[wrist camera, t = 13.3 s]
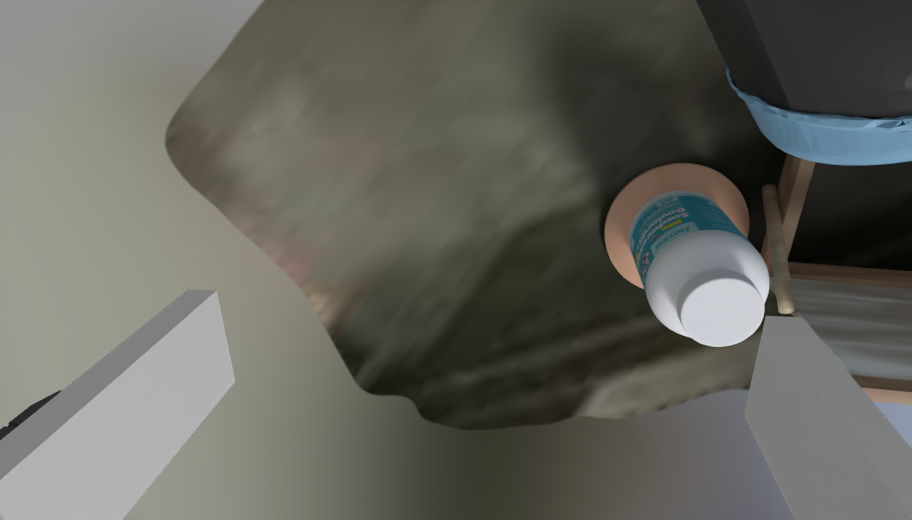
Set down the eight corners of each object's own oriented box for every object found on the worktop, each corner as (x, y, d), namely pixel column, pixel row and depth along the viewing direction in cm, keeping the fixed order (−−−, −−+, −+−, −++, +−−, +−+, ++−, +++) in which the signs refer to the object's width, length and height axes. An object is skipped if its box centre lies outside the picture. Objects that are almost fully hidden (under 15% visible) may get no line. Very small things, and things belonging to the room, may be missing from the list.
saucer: (614, 157, 45) (615, 159, 45) (762, 167, 44) (765, 169, 43) (595, 284, 50) (596, 287, 49) (729, 296, 48) (731, 299, 48)
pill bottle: (656, 171, 44) (701, 233, 32) (743, 209, 45) (820, 285, 32) (609, 252, 48) (634, 337, 35) (690, 288, 48) (743, 384, 36)
